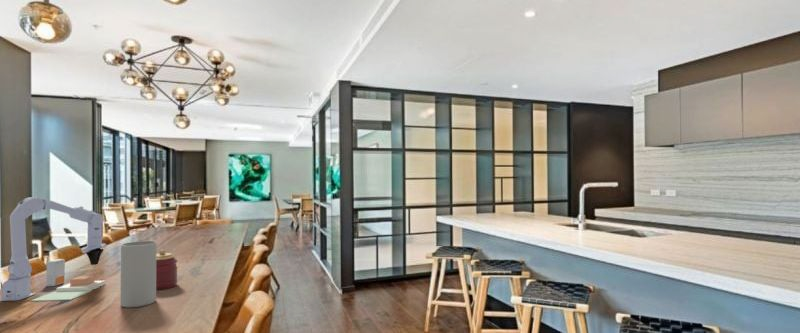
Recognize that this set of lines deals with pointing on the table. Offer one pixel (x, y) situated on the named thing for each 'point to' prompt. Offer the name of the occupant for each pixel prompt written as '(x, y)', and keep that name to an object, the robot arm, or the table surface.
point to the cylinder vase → (138, 273)
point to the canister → (166, 270)
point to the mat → (61, 296)
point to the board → (81, 287)
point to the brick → (82, 280)
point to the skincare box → (55, 272)
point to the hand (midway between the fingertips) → (94, 264)
